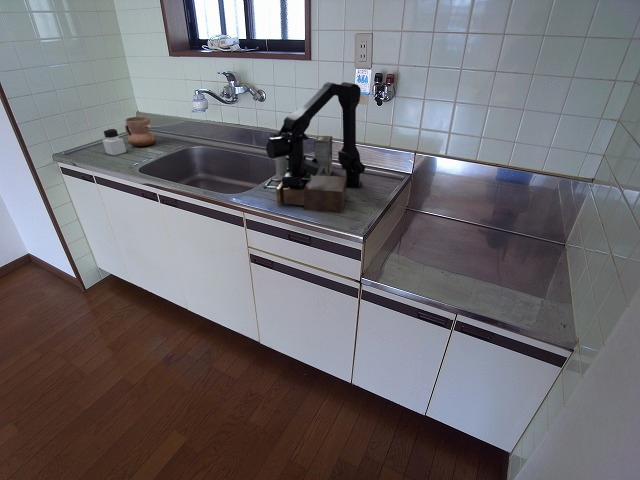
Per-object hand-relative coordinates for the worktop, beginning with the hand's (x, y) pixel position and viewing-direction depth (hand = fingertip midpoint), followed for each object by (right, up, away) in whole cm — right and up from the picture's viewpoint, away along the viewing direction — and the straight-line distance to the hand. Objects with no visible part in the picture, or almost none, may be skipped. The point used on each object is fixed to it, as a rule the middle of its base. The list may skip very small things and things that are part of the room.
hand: (297, 193), depth 139 cm
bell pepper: (+2, +5, +14) cm, 15 cm away
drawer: (-3, -2, +1) cm, 3 cm away
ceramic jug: (-90, +36, +67) cm, 118 cm away
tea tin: (0, -1, 0) cm, 1 cm away
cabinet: (+11, -3, 0) cm, 11 cm away
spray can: (-7, +9, +20) cm, 23 cm away
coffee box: (+10, +12, +26) cm, 30 cm away
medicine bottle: (-98, +28, +54) cm, 115 cm away
